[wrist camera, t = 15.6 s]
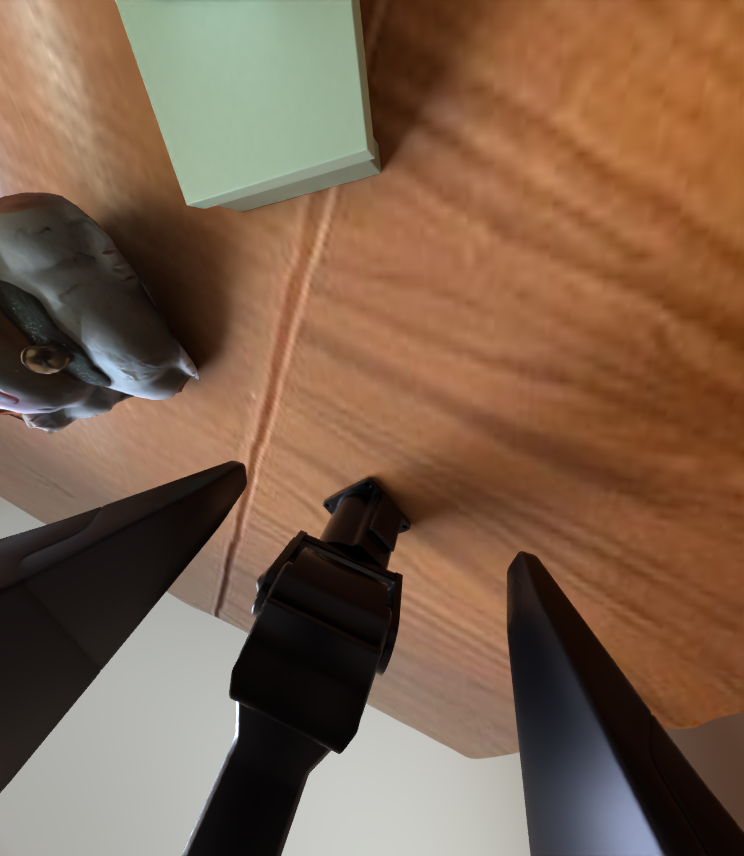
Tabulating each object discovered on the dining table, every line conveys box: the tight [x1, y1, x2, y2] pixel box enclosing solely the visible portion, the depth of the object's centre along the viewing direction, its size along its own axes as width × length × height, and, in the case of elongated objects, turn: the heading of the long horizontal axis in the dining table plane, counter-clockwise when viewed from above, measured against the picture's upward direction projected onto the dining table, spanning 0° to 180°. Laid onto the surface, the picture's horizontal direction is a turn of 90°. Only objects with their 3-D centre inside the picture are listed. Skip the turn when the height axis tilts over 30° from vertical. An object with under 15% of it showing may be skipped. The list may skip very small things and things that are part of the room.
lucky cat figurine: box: [0, 193, 200, 434], centre depth 19 cm, size 15×12×14 cm
